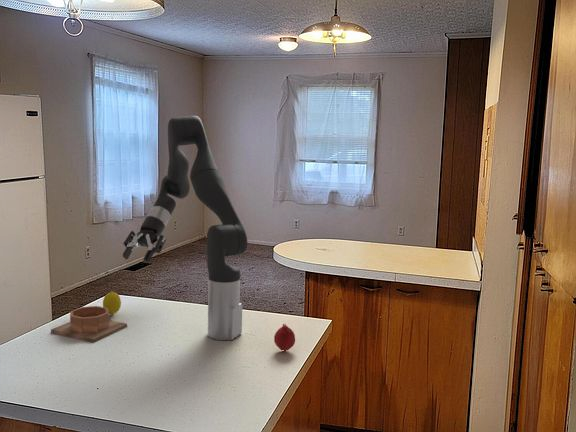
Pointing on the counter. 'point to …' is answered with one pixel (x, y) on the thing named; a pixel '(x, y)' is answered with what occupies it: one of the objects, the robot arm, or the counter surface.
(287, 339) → the onion
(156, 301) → the counter surface
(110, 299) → the lemon
